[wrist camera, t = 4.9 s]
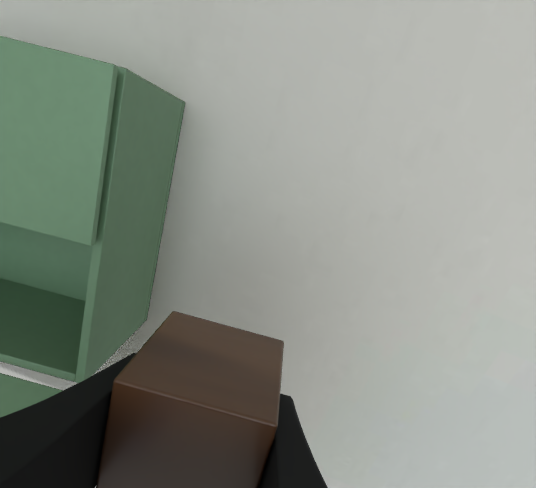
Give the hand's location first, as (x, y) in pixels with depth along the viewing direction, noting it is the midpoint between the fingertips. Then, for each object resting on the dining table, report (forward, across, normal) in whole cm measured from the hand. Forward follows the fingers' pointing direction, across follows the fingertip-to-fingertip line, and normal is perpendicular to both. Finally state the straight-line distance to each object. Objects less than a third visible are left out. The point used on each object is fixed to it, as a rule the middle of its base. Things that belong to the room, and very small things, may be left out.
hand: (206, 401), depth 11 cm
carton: (+9, +12, -3) cm, 15 cm away
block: (+1, 0, 0) cm, 1 cm away
